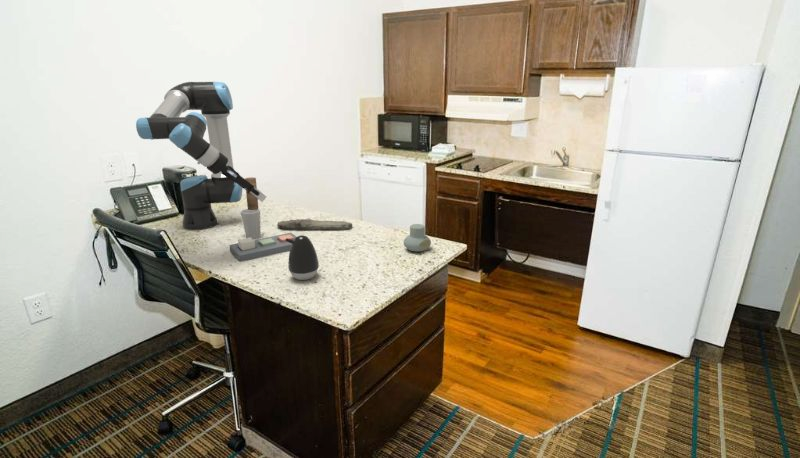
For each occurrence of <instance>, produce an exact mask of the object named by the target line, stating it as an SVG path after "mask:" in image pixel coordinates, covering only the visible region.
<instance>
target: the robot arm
mask: <svg viewBox="0 0 800 458" xmlns="http://www.w3.org/2000/svg"><path fill="white" fill-rule="evenodd" d="M233 108H234V105H233V98H232V94H231V90H230V89H229V87H228V85H227V83H225V82H223V81H221V82H220V81H186V82H181V83H180V84H177V85H175V86H173V87H172V88H170V89H169V90H168V91H166V93H165V94H164V98H163V101H162V102H161V103H160V104H159V105H158V107H157V108H156V110H155V111H154V112H152V114H151V115H150V116H149V117H146V116H145V117H139V118H137V120H136V122H135V123H136V124H135V127H136V132H137V135H138V136H139V138H140V139H143V140H151V141H152V140H169V141H170V142H171V143H172V144H174V145H175V146H176V147H177V148H179V149H180V150H182V151H183V152H184V153H186V155H188V156H190V157H192V159H194V160H196V161H197V163H196V164H197V165H200V164H201V165H202V166H203V167H204V168H205V167H206V169H207V170H208V171H209V172H210V173H211V175H210V178H208V176H207V175H205V174H202V175H201V174H200V175H193V176H189V177H186V178H184V179H182V180H180V184H179V186H180V194H181V198H182V199H181V200H182V205H183V211H184V213H183V218H182V228H183V229H185V230H190V231H197V230H198V231H199V230H205V229H209V228H214V227H215V226H217V225H218V222H219V221H218V217H217V216H216V214H215V213H214V210H213V208H212V204H224V203H225V204H228V203H230V204H232V203H237V202H240V200H242V196H243V190H244V191H246V189H247V190H248V192H247V193H251V194H252V195H254V196H255V197H256V198H258V201H260V202H261V203H263V202H264V201H265V200H266V198H267V197H268V196H267V195H265V194H264V193H263V192H262V191H260V190H259V189H258V188H257V189H256V188H255V187H254V186H253V185H252V184H250V183H249V182H248V181H246V180H245V177H243V176H242V175H240V173H239V172H238V171H236V170H235V168H234V163H233V161H234V160H233V156H232V155H233V154H232V149H231V148H232V146H231V138H230V131H229V124H228V117H229V115H230V114H231V112H230V111H231V110H233ZM187 111H193V112H189V113H188V114H186V115H185V116H181V114H183V113H185V112H187ZM195 111H201V113H199V112H195ZM206 130H207V131H206ZM206 132H208V133H207V134H208V135H207V136H208V140H209V142H208V141H207V140H205V139H204V136H205V133H206Z"/></svg>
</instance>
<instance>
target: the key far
mask: <svg viewBox="0 0 800 458" xmlns="http://www.w3.org/2000/svg"><path fill="white" fill-rule="evenodd" d="M286 238H288V239H292V240H294V237H292V236H291V235H284V236H279V237H278V240H279V241H280V242H281V243H283V242H287V241H286Z"/></svg>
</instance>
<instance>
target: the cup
mask: <svg viewBox="0 0 800 458" xmlns="http://www.w3.org/2000/svg"><path fill="white" fill-rule="evenodd" d="M240 215H241V220H242V222H243V223H242V224H243V229H244V234H245V238H250V237H251V238H252V239H253V240H257V239H261V238H262V234H261V233H262V232H261V209H260V208H259V209H257V210H248V208H246V209H242V210H240Z"/></svg>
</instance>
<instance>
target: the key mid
mask: <svg viewBox="0 0 800 458" xmlns="http://www.w3.org/2000/svg"><path fill="white" fill-rule="evenodd" d="M274 244H275V241H274V240H272V239H271V238H269V239H264V240H259V245H260V246H262V247H265V246H269V245H274Z"/></svg>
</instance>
